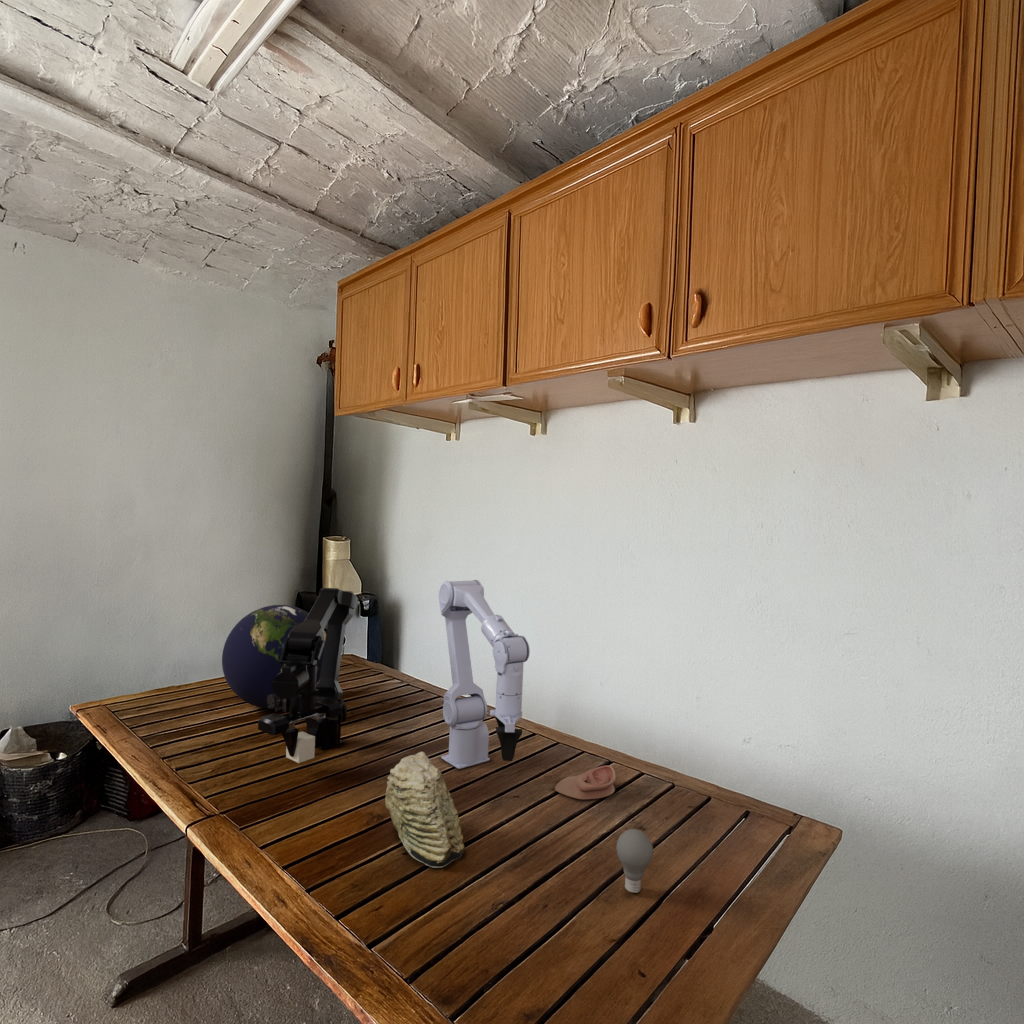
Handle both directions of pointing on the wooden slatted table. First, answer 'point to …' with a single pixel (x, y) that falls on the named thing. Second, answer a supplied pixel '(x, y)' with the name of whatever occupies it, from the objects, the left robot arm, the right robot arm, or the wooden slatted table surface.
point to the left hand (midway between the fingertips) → (300, 753)
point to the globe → (260, 651)
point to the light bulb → (634, 857)
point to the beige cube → (303, 748)
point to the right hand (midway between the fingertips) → (506, 753)
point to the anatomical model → (589, 784)
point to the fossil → (424, 812)
